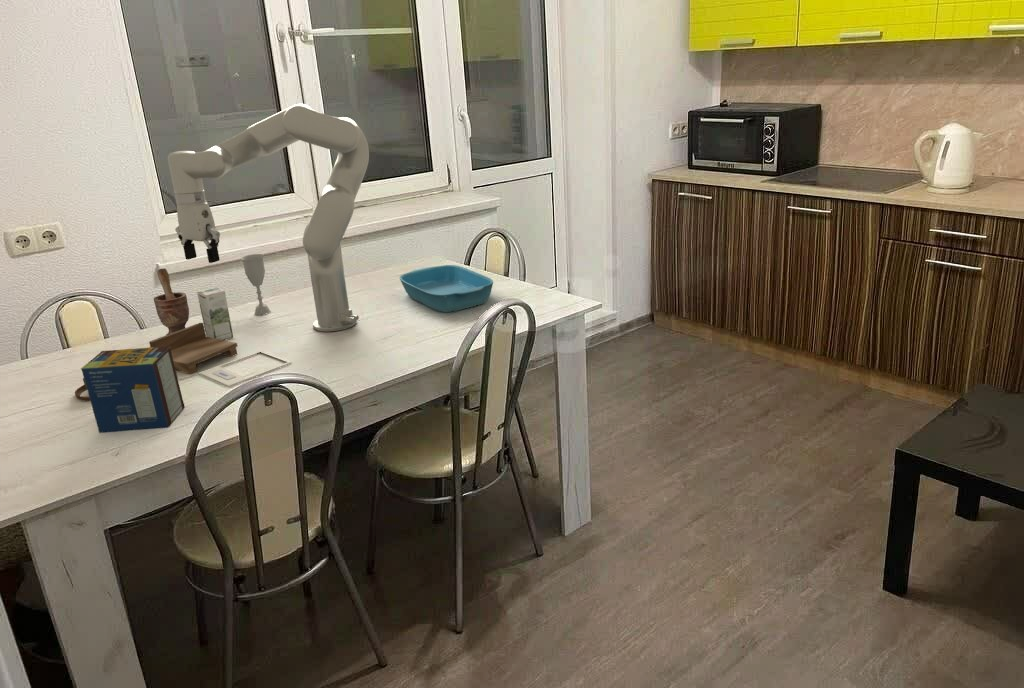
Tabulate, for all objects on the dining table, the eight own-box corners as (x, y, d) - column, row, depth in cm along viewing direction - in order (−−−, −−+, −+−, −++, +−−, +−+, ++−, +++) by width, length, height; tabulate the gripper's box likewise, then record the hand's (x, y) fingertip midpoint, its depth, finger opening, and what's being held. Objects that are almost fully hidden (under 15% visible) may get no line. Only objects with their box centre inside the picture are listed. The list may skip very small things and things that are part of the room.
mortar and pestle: (153, 339, 223) (137, 273, 216) (180, 330, 229) (166, 265, 222) (172, 346, 216) (156, 278, 209) (200, 337, 222) (186, 271, 215)
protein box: (118, 412, 176) (101, 350, 171) (185, 407, 177) (170, 345, 171) (97, 433, 167) (79, 368, 161) (169, 428, 167) (153, 362, 161)
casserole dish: (391, 293, 253) (389, 272, 251) (451, 280, 264) (449, 260, 261) (441, 321, 224) (439, 298, 221) (506, 305, 234) (505, 283, 232)
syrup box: (225, 333, 224) (215, 286, 219) (234, 337, 220) (224, 289, 215) (206, 339, 220) (196, 291, 215) (215, 343, 216) (205, 294, 211)
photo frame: (198, 371, 195) (260, 349, 208) (199, 375, 196) (261, 353, 208) (228, 384, 186) (291, 361, 198) (229, 389, 186) (292, 365, 199)
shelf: (238, 353, 208) (234, 329, 206) (189, 374, 195) (183, 349, 193) (205, 345, 215) (200, 322, 213) (155, 366, 202) (149, 341, 200)
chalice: (269, 315, 238) (259, 259, 231) (248, 316, 238) (237, 260, 231) (276, 308, 244) (267, 253, 238) (255, 309, 245) (245, 254, 238)
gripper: (223, 197, 204) (234, 259, 211) (182, 194, 213) (194, 254, 219) (199, 202, 198) (212, 266, 205) (158, 199, 207) (171, 260, 213)
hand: (202, 260), depth 212 cm, fingers open, 9 cm apart
